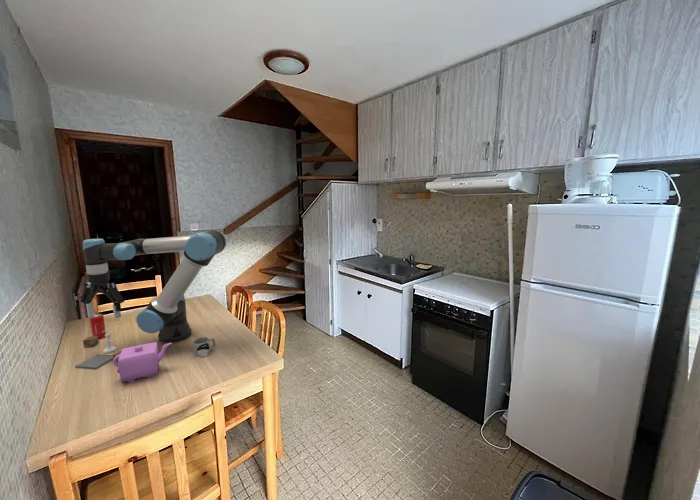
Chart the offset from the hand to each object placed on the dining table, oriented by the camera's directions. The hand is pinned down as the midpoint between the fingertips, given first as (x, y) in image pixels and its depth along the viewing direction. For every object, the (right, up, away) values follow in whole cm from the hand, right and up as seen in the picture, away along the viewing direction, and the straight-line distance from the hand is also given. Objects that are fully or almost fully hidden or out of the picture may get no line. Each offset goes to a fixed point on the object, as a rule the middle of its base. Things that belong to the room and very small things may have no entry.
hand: (104, 317), depth 136 cm
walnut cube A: (-12, -16, +7) cm, 21 cm away
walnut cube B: (+13, -18, -7) cm, 24 cm away
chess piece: (0, -17, +3) cm, 17 cm away
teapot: (+30, -20, -16) cm, 40 cm away
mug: (+46, -17, +1) cm, 50 cm away
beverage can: (-15, -14, +15) cm, 26 cm away
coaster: (+3, -18, -8) cm, 20 cm away
